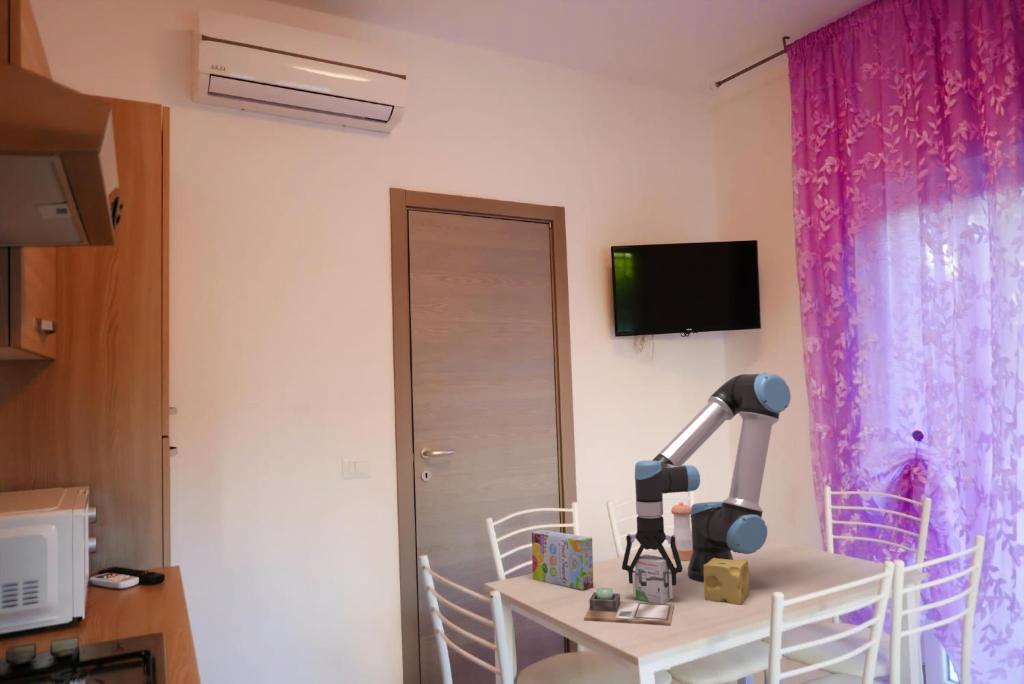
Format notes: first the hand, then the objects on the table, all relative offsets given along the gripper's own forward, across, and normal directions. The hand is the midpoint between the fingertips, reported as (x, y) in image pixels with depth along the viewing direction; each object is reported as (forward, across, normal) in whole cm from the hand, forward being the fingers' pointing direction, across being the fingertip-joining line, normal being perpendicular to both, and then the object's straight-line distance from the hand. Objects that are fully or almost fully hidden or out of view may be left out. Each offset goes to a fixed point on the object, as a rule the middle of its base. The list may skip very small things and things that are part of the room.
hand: (653, 596), depth 203 cm
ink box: (+1, 0, 0) cm, 1 cm away
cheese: (+1, -20, -6) cm, 21 cm away
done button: (-1, +12, +11) cm, 16 cm away
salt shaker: (+1, -6, -51) cm, 51 cm away
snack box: (+1, +29, -13) cm, 32 cm away
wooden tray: (+1, +5, +13) cm, 14 cm away
